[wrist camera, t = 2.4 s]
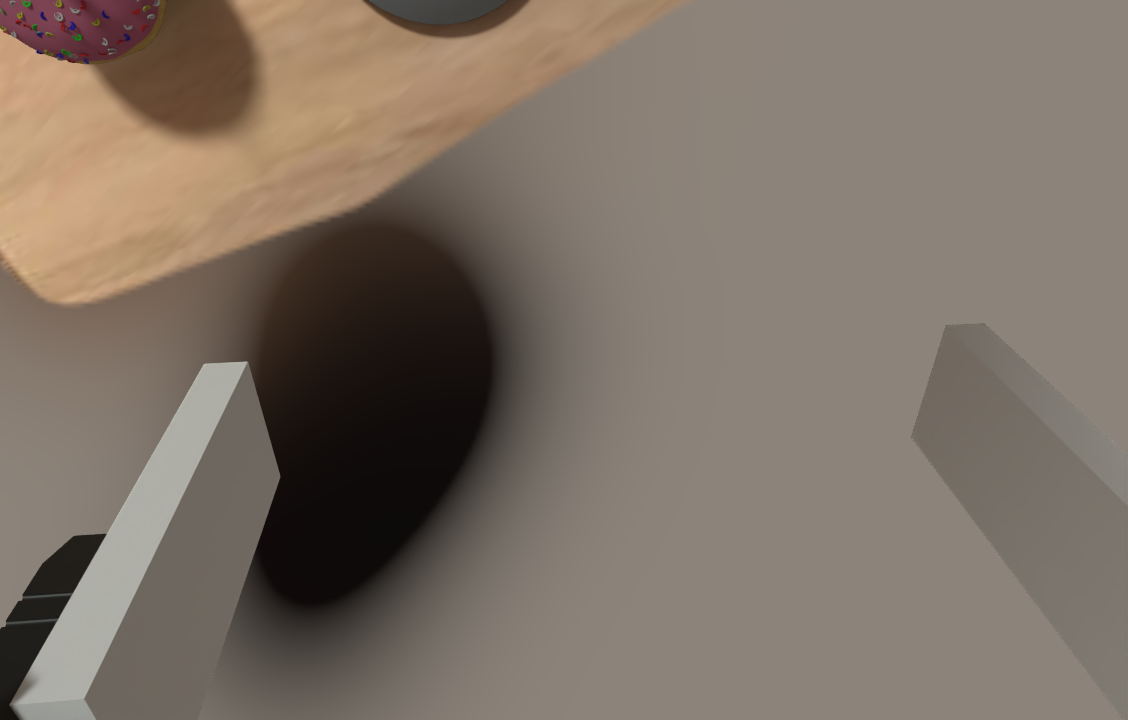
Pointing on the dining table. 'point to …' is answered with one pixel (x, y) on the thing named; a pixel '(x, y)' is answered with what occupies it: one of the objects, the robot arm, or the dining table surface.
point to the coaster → (438, 9)
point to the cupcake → (83, 27)
